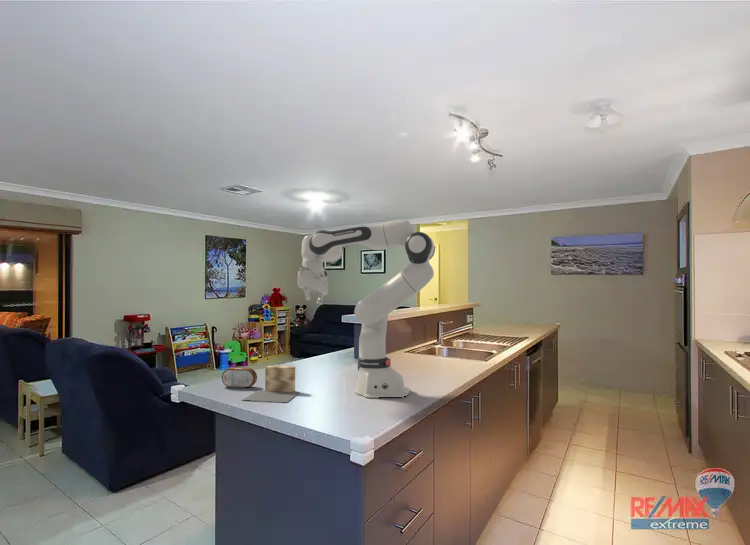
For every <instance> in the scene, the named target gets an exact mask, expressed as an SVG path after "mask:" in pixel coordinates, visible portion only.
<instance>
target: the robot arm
mask: <svg viewBox="0 0 750 545" xmlns="http://www.w3.org/2000/svg"><path fill="white" fill-rule="evenodd" d="M351 244H355V245H356V244H357V245H362V246H363V247H364V246H365V247H366V248H369V249H370V250H374V251H383V250H389V249H393V248H397V247H402V248H404V249H405V250H404V251H405V252H406V255H407V257H408V260H409V263H408V265H407V266H405V267H404V268H403V269H402V270H401V271H399V272H398V273H397V274H396V275H394V276H393V277H392V278H390V279H389V280H388V281H386V282H385V283H384V284H382V285H381V286H379V287H377V288H375V289H374V290H373V291H372V292H371V293H368V295H366V296H364V297H363V298H362V299H361V300H360V301H358V302H357V303H356V305H355V307H354V311H353V313H354V317H355V319H356V320H357V321H358V322H359V323H361V329H360V334H359V337H358V338H359V339H358V358H357V371H358V372H357V373H358V374H357V383H356V386H355V390H354V392H355V394H357V395H360V396H364V398H366V397H367V398H366V399H373V398H374V399H380V398H379V397H402V398H405V397H404V396H406V397H408V396H409V395H410V393H411V392H410V387H408V386H406V385H405V380H404V377H403V375H402V374H401V373H400V372H398V371H397V370H396V369H395V368H393V367H392V366H391V358H390V357H387V356H386V343H387V342H386V341H387V340H386V339H387V338H386V337H387V331H388V329H387V328H388V319H389V314H391V313H392V312H394V311H395V310H396V309H397V308H399V307H400V306H402V305H403V304H404V303H406V302H407V301H408V300H410V299H411V298H412V297H414V296H415V295H416V294H417V293H418V292H420V291H421V290H423V288H425V287H426V286H427V285H428V283H429V282H430V281H431V280H432V279H433V277H434V275H435V274H434V268H433V267H432V265H431V264H430V260H431V259H432V258H433V257H434V255H435V251H436V247H435V244H434V241H433V239H432V238H431V237H430V236H429V235H428V234H427V233H424V232H422V231H416V232H415V231H414V227H413V225H412V223H411V222H410V221H409V220H406V219H397V220H391V221H386V222H383V223H382V222H381V223H377V224H371V225H366V226H365V225H364V226H355V227H349V228H345V229H339V230H329V231H328V230H326V229H325V230H323V229H320V230H317V231H314V233H313V234H312V233H311V234H308V235H306V236H304V237H303V239H302V241H301V258H302V263H301V266H300V267H299V268H298V270H299V271H298V272H297V286H298V288H299V289H302V290H303V294H304V299H305V300H306V301H311V299H312V295H311V293H313V294H315V295H316V296H317V300H316V304H318V305H322V304H323V299H324V296H327V295H329V283H328V282H329V281H328V278H329V273H328V272H327V271H326V269H325V268H324V267H323V265H324V264H323V263H324V262H325V263H333V262H336V261H339V260H340V258H342V256H343V253H344V249H343V246H347V245H351ZM409 392H410V393H409ZM408 394H409V395H408ZM407 395H408V396H407Z"/></svg>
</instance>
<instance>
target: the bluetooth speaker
mask: <svg viewBox="0 0 750 545" xmlns="http://www.w3.org/2000/svg"><path fill="white" fill-rule="evenodd" d="M221 380H222V384H223V385H224V386H226V387H227V388H234V387H249V388H251V387H252V386H254V385H255V384H256V383H257V380H258V376H257V372H256V371H255V370H254V369H253V368H251V367H242V366H240V367H239V366H237V367H236V366H230V367H228V368H226V369H225V370H224V371H223V372H222V374H221Z"/></svg>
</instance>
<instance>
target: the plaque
mask: <svg viewBox="0 0 750 545" xmlns="http://www.w3.org/2000/svg"><path fill="white" fill-rule="evenodd" d="M264 370H265V373H264V374H265V375H264V376H265V378H264V380H265V381H264V384H265V385H264V387H265V389H264V391H281V392H296V366H288V365H287V366H285V365H282V366H281V365H267V366H265V369H264Z"/></svg>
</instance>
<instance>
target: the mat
mask: <svg viewBox="0 0 750 545" xmlns="http://www.w3.org/2000/svg"><path fill="white" fill-rule="evenodd" d="M299 394H300V392H298V391H294V392H281V391H265V390H258V389H257V390H256V391H255V392H252V393H250V394H249V395H248V396H246V397H245V398H243V399H242V400H250V401H249V402H257V401H272V402H271V403H276V402H286V403H285V404H288V403H289V402H290V401H291V400H293V399H294V398H295V397H296V396H298V395H299ZM292 398H293V399H292ZM287 402H288V403H287Z"/></svg>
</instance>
